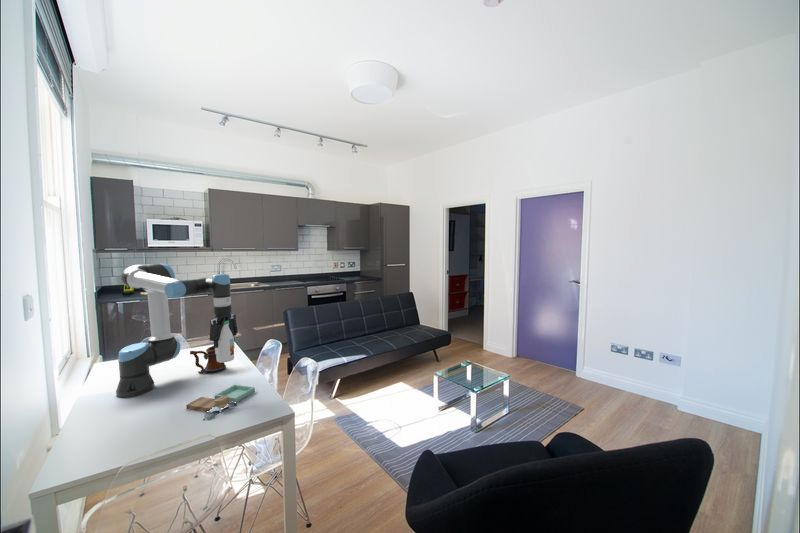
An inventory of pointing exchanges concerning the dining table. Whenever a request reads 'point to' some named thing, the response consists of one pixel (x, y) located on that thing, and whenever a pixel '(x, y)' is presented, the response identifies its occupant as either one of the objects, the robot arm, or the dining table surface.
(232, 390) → the tray
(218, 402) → the block
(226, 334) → the milk bottle
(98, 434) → the dining table surface
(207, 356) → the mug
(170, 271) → the robot arm
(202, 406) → the tan wooden board
